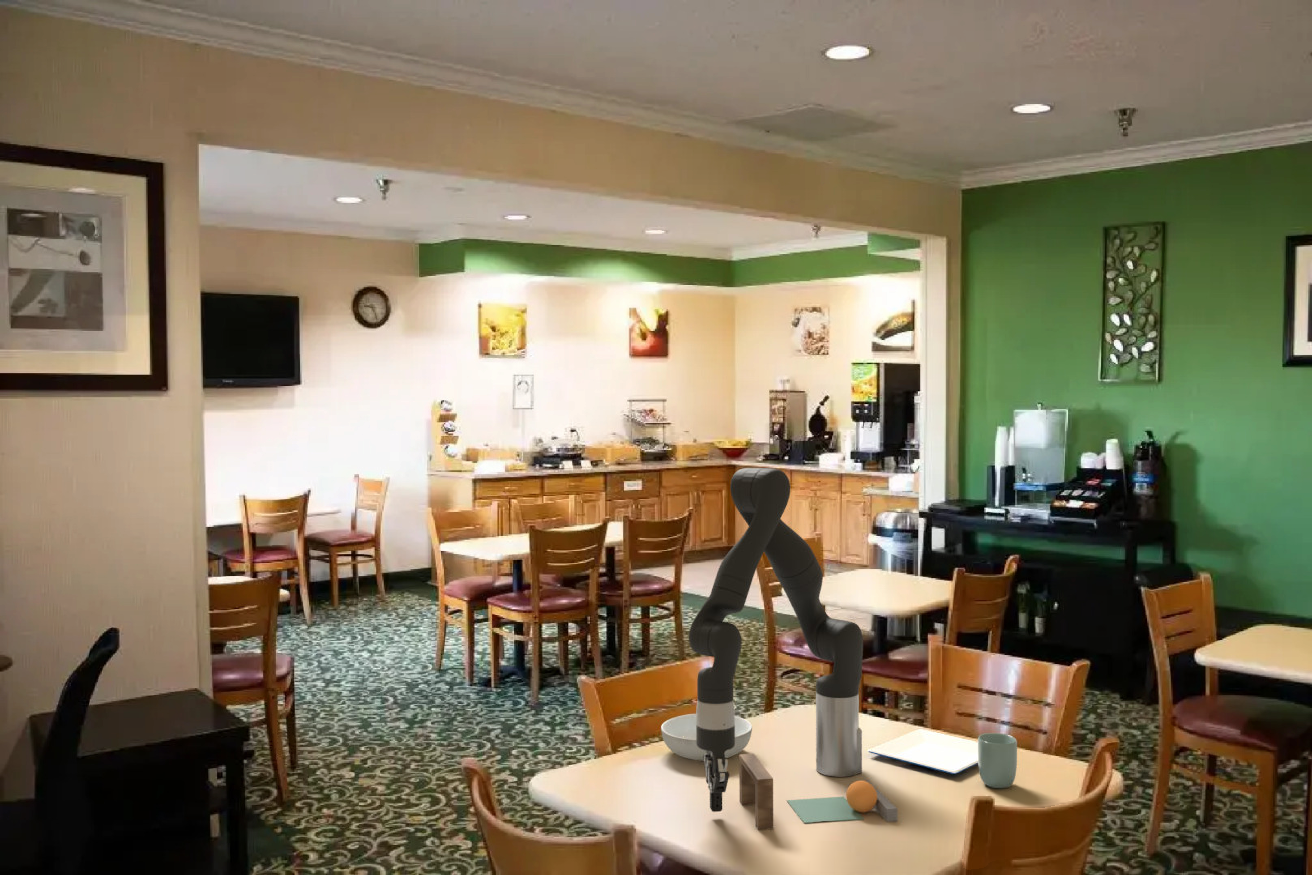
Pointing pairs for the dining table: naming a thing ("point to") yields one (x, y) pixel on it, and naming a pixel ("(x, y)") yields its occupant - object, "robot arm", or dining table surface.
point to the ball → (861, 796)
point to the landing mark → (824, 809)
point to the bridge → (756, 789)
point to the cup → (997, 759)
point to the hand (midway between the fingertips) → (716, 809)
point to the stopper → (884, 806)
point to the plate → (931, 751)
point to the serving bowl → (687, 728)
